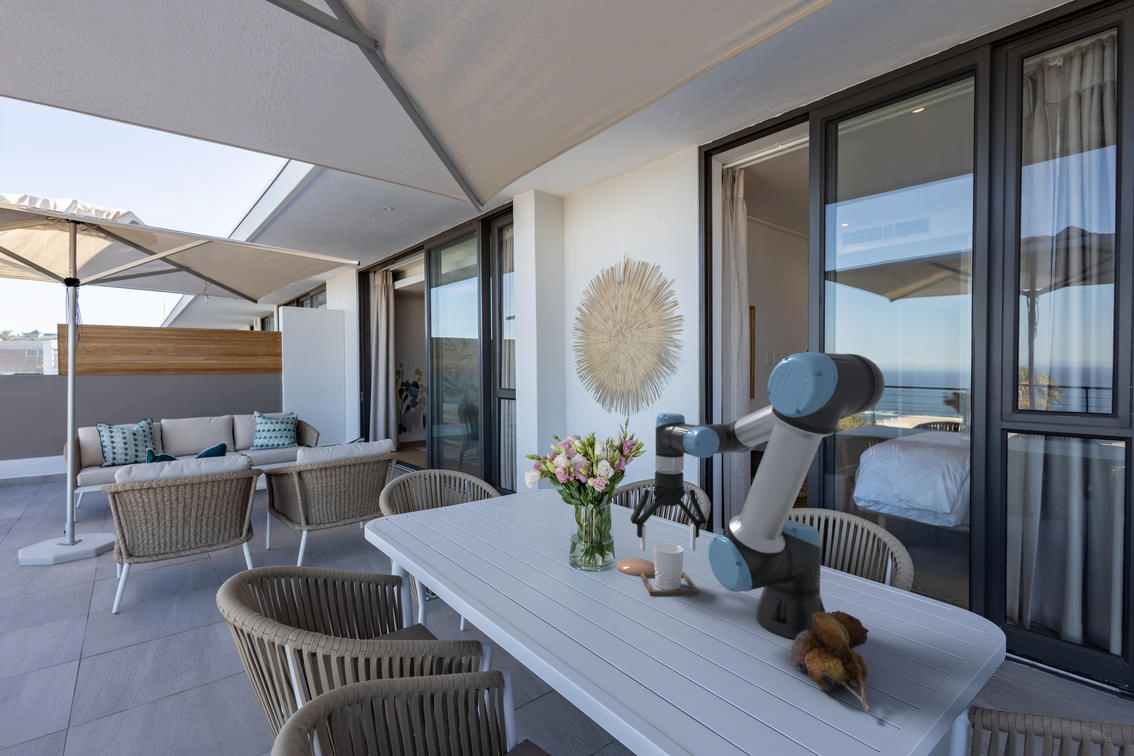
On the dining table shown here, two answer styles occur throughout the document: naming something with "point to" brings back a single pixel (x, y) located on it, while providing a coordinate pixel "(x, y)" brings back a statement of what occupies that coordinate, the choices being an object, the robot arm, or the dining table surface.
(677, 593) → the walnut tray frame
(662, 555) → the white cup
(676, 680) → the dining table surface
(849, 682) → the seed pod
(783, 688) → the dining table surface
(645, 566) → the peach flat disc
